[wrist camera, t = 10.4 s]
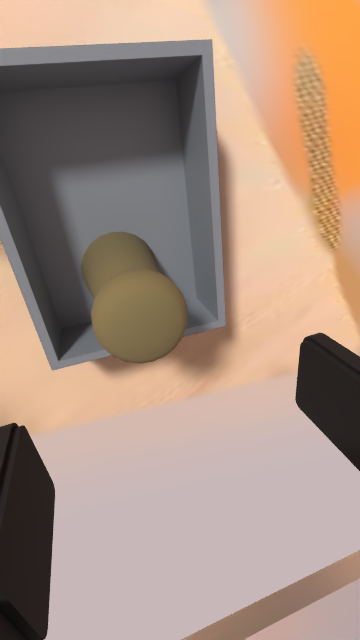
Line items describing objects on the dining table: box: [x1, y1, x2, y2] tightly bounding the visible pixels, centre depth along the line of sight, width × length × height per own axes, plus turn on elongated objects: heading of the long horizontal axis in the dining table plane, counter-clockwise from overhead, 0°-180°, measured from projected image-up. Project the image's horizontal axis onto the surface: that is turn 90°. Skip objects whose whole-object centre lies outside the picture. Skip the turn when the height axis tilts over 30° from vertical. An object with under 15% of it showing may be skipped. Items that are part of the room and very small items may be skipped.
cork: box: [81, 232, 188, 363], centre depth 20 cm, size 6×6×11 cm
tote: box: [0, 39, 226, 371], centre depth 21 cm, size 13×17×6 cm
